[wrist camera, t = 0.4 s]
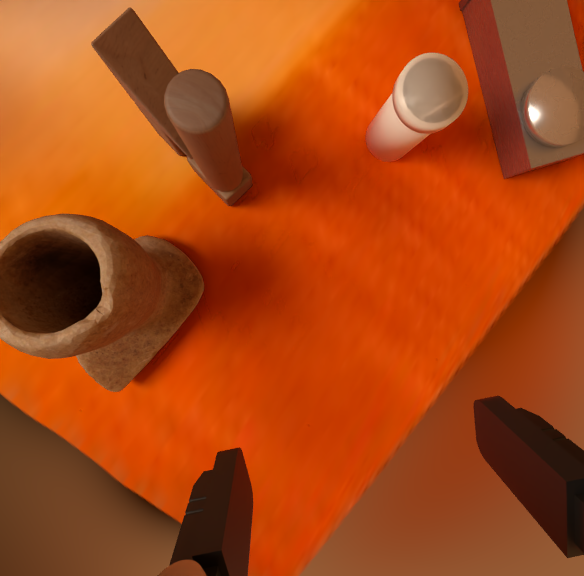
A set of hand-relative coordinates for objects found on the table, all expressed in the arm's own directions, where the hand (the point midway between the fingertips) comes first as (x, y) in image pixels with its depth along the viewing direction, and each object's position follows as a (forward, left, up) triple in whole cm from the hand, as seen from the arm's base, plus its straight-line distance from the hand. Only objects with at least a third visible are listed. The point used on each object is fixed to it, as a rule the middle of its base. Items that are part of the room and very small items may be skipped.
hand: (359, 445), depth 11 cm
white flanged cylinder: (-17, +16, -27) cm, 35 cm away
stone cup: (-8, -16, -27) cm, 32 cm away
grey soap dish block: (-19, +32, -27) cm, 46 cm away
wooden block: (-20, -4, -27) cm, 33 cm away
